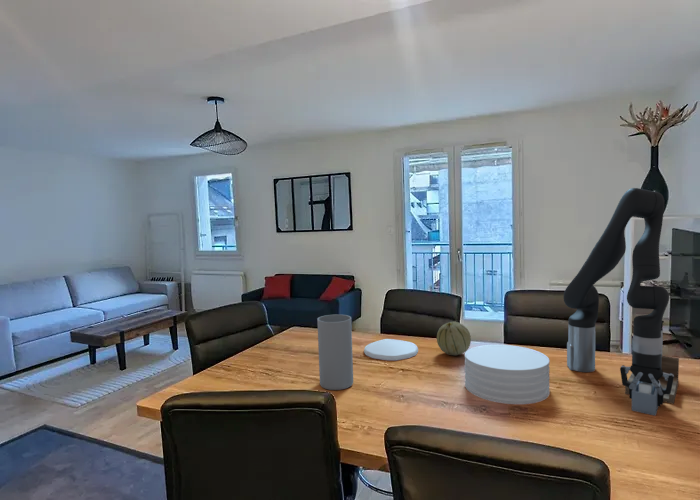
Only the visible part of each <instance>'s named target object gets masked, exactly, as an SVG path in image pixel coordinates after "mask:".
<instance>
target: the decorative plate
mask: <svg viewBox="0 0 700 500" xmlns="http://www.w3.org/2000/svg"><path fill="white" fill-rule="evenodd" d="M363 353H364V354H365V355H366V356H367V357H369V358H372V359H374V360H375V359H377V360H382V361H401V360H406V359H410V358H413V357H415V356H417V354H418V353H419V347H418V346H417V344H415V343H413V342H412V341H408V340H407V341H406V340H402V339H393V338H384V339H380V340H376V341H374V342H373V341H372V342H370V343H368V344H367V345H366V346H364V349H363Z"/></svg>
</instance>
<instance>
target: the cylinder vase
mask: <svg viewBox="0 0 700 500" xmlns="http://www.w3.org/2000/svg"><path fill="white" fill-rule="evenodd" d="M316 319H317V340H318V342H317V343H318V345H317V346H318V367H319V368H318V372H319V385H320V386H321V388H323V389H325V390H329V391H340V390H341V391H342V390H346V389H348V388H350V387H351V386H352V385H353V384H354V363H353V361H354V360H353V335H352V333H353V332H352V331H353V327H352V316H350V315H347V314H326V315H321V316H319V317H317V318H316Z"/></svg>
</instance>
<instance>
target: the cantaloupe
mask: <svg viewBox="0 0 700 500" xmlns="http://www.w3.org/2000/svg"><path fill="white" fill-rule="evenodd" d="M471 336H472V335H471V332H470V331H469V330H468V327H466V326H465V325H464V324H462V323H461V322H458V321H448V322H446V323H444V324H442V325H441V326H440V327H439V329H438V331H437V334H436V343H437V346H438V347H439V349H440V350H441V351H442V352H443V353H445V354H446V355H448V356H460V355H462V354H465V352H466V351H467V350H468V349H470V347H471V342H472V341H471V340H472V337H471Z"/></svg>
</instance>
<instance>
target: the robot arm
mask: <svg viewBox="0 0 700 500" xmlns="http://www.w3.org/2000/svg"><path fill="white" fill-rule="evenodd" d="M664 212H665V198H664V195H663V194H662V193H660V192H658V191H655V190H649V189H643V188H638V187H632V188H629V189H628V190H627V191H625V192H624V194H623V195H622V196H621V198H620V200H619V201H618V204H617V205H616V208H615V210H614V211H613V214H612V216H611V218H610V220H609V222H608V224H607V226H606V228H605V229H604V231H603V232H602V234H601V236H600V237H599V239H598V241H597V242H596V244H595V245H594V247H593V249H592V250H591V252H590V253H589V255H588V257H587V259H586V261H585V262H584V263H583V264H582V267H581V268H580V270H579V271H578V273H577V274H576V275H575V276H574V278H573V279H572V280H571V281H570V283H569V284H568V285H567V286H566V288H565V289H564V292H563V301H564V304H565V305H566V307H568V308H570V309H576V311H575V312H573V314H570V316H569V318H568V321H567V322H568V335H567V336H568V341H567V342H566V365H567V368H569V370H570V371H576V372H579V373H592V372H595V370H596V323H597V321H598V319H599V318H598V317H599V306H600V305H599V304H600V296H599V292H598V289H597V288H596V286H595V284H596V283H598V281H600V280H601V279H602V278H604V277H605V276H607V275H608V274H609V273H610V272H612V271H613V270H614V269H615V268H616V267H617V266H618V264H619V263H620V262H621V260H622V258H623V256H624V255H625V253H626V249H627V246H626V245H627V244H626V243H627V242H626V236H625V231H626V227H627V225H628V223H629V221H630V220H631V218H640V219H644V231H643V233H642V235H641V237H640V239H639V240H638V241H637V243H636V244H635V246H634V248H633V249H632V250H633V251H632V255H631V256H632V278H631V282H630V284H629V288H628V291H627V295H626V301H627V303H628V306H630V307H631V308H634V309H640V310H641V309H643V310H644V309H645V310H652V311H651V312H650V313H648V314H644V315H642V314H641V315H636V316H635V317H634V318H633V322H632V323H633V324H632V325H633V328H632V330H633V331H632V333H633V335H632V341H631V365H630V366H625V365H621V366H620V368H619V371H620V377H621V384H622V386H623V387H625V386H627V387H628V388H629V394H628V396H629V397H628V398H629V399H631V400H632V390H633V388H634V386H635V385H636V384H637V382H638V381H640V382H647V383H650V384H652V383H653V385H654V387H655V388H656V390H657V391H658V402H657V406H658V407H661V406H663V404H664V402H663V401H664V394H670V393H671V389H672V384H673V379H674V374H672V373H670V374H668V373H664V372H663V371H662V368H661V364H662V356H663V344H662V342H661V323H662V321H663V317H664V314H665V312H666V309H667V307H668V304H669V301H670V293H669V291H668V290H667V289H666V287H663V286H659V285H658V286H656V285H653V286H652V285H641V283H644V282H646V281H651V280H652V281H653V280H656V279H659V278H660V276H661V267H660V266H661V264H660V240H661V234H662V227H663V219H664V214H665V213H664ZM629 371H630V372H631V374H632V373H633V375H634V376H635V378H634V379H633V381H632V382H631V383H630V382H628V379H629V378H628V375H627V374H629ZM662 376H664V377H665V380H666V381H668V382H667V387H666V389H663V388H662V386H661V384H660V382H659V379H660V378H661V377H662Z"/></svg>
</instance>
